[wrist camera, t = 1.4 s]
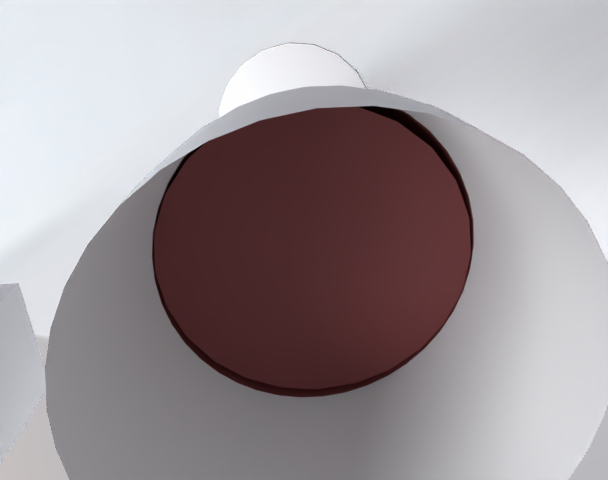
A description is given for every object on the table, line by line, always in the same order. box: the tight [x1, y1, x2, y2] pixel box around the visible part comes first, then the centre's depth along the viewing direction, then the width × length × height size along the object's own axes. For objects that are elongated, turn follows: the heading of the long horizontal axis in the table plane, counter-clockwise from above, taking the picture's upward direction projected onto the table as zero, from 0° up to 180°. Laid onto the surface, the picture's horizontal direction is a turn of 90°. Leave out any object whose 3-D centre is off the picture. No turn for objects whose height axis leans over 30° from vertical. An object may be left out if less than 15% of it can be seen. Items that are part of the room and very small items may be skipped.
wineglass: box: [45, 43, 608, 480], centre depth 19 cm, size 9×10×23 cm
